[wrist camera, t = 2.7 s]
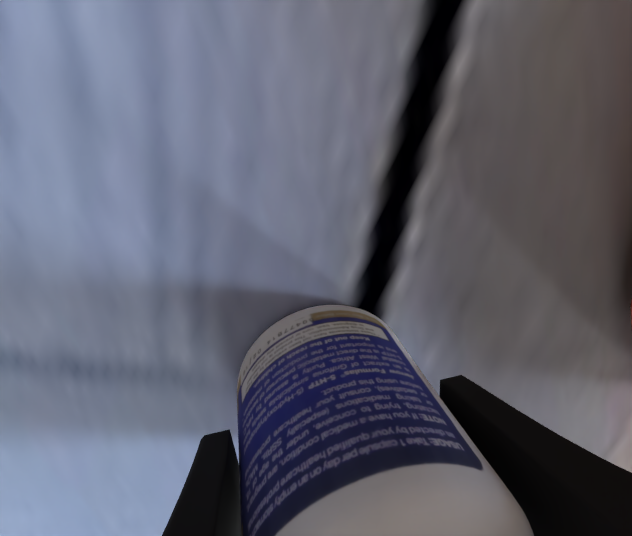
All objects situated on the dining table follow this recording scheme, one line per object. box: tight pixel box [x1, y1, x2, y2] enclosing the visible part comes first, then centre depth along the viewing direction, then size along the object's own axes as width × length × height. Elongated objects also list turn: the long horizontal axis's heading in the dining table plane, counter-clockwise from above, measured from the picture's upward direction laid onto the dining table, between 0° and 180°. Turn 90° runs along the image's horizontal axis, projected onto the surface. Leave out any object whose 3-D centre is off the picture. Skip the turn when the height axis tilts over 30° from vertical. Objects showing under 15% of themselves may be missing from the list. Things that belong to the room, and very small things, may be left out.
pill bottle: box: [237, 305, 534, 536], centre depth 8 cm, size 5×5×9 cm
